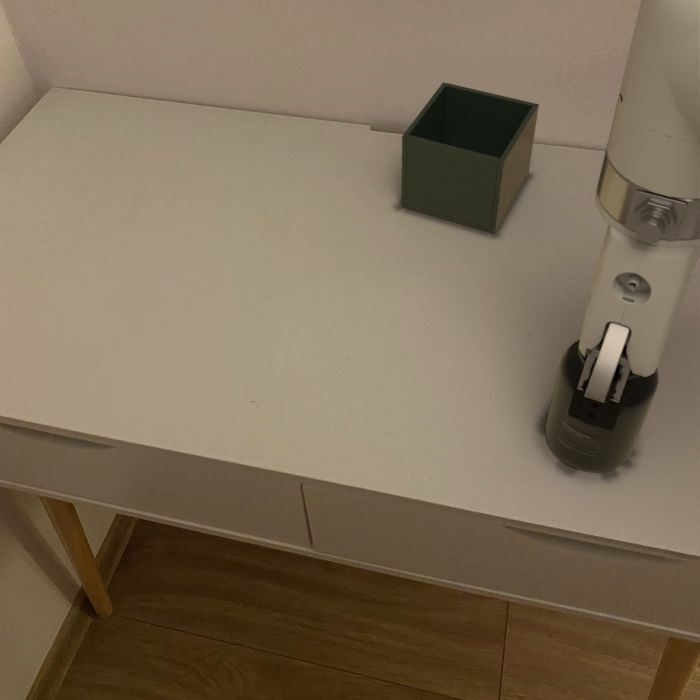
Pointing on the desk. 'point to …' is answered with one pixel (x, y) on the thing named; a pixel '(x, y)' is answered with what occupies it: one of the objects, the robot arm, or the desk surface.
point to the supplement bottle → (591, 441)
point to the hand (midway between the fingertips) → (606, 380)
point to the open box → (467, 156)
